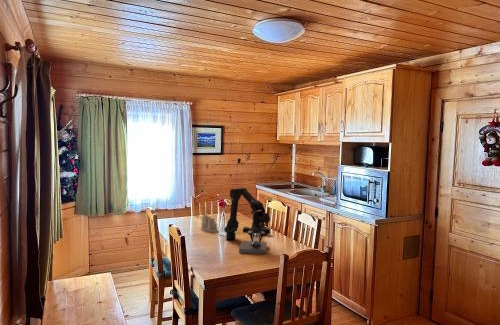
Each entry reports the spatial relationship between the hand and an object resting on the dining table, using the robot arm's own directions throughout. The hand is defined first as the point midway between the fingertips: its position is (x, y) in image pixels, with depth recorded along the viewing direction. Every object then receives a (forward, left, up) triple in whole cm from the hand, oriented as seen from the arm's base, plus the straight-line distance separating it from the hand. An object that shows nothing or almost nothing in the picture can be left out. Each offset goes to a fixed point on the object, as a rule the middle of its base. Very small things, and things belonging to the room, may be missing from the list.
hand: (256, 242), depth 242 cm
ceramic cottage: (-41, +46, -6) cm, 62 cm away
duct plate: (-2, 0, -5) cm, 5 cm away
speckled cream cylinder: (0, 0, -2) cm, 2 cm away
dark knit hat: (0, +42, -6) cm, 43 cm away
